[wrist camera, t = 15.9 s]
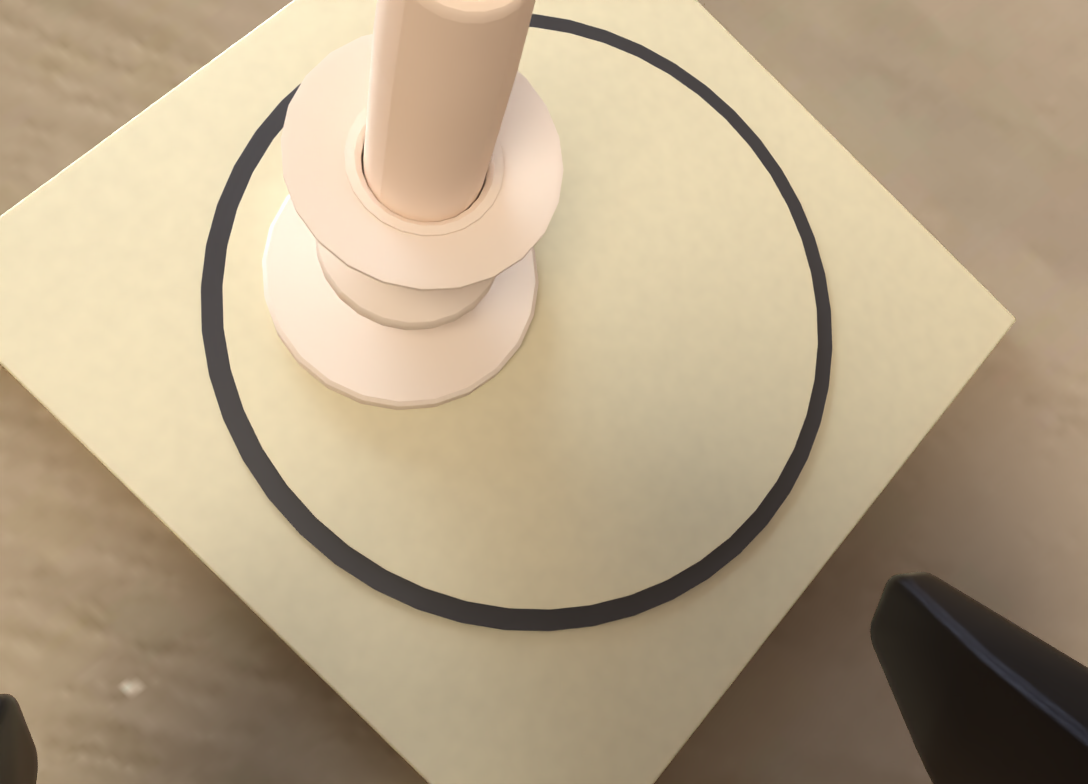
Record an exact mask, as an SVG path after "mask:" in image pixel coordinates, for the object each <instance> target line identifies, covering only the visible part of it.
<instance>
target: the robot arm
mask: <svg viewBox="0 0 1088 784" xmlns="http://www.w3.org/2000/svg"><path fill="white" fill-rule="evenodd" d="M870 633H871V640H872V644H873V647H874V650H875V652H876V654H877V657H878V659H879V662H880V664H881V666H882V669H883V671H884V673H885V676H886V678H887V680H888V683H889V685H890V688H891V690H892V692H893V695H894V697H895V699H896V702H897V704H898V706H899V709H900V711H901V714H902V716H903V718H904V721H905V723H906V725H907V728H908V730H909V732H910V735H911V737H912V740H913V742H914V744H915V747H916V749H917V751H918V753H919V755H920V758H921V760H922V762H923V764H924V766H925V769H926V771H927V773H928V774H929V776H930V778H931V780H932V782H933V784H1088V668H1087V667H1086V666H1084V665H1082V664H1081V663H1079V662H1077V661H1076V660H1074V659H1072V658H1071V657H1069V656H1067V655H1066V654H1064V653H1062V652H1061V651H1059V650H1057V649H1056V648H1054V647H1052V646H1051V645H1049V644H1047V643H1046V642H1044V641H1042V640H1041V639H1039V638H1037V637H1036V636H1034V635H1032V634H1031V633H1029V632H1027V631H1026V630H1024V629H1022V628H1021V627H1019V626H1017V625H1016V624H1014V623H1012V622H1011V621H1009V620H1007V619H1006V618H1004V617H1002V616H1001V615H999V614H997V613H996V612H994V611H992V610H991V609H989V608H987V607H986V606H984V605H982V604H981V603H979V602H977V601H976V600H974V599H972V598H971V597H969V596H967V595H966V594H964V593H962V592H961V591H959V590H957V589H956V588H954V587H952V586H951V585H949V584H947V583H946V582H944V581H942V580H941V579H939V578H937V577H936V576H934V575H932V574H930V573H927V572H913V573H906V574H898V575H895V576H892V577H891V578H890V579H889V580H888V582H887V583H886V586H885V588H884V591H883V593H882V596H881V599H880V601H879V604H878V606H877V609H876V612H875V614H874V617H873V619H872V622H871V629H870ZM37 771H38V760H37V752H36V748H35V745H34V742H33V739H32V737H31V734H30V732H29V729H28V727H27V724H26V722H25V719H24V716H23V714H22V711H21V709H20V706H19V704H18V702H17V700H16V699H15V698H14V697H13V696H12V695H10V694H0V784H36V780H37Z"/></svg>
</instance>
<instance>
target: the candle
mask: <svg viewBox="0 0 1088 784" xmlns="http://www.w3.org/2000/svg"><path fill="white" fill-rule="evenodd" d="M535 1H536V0H377V4H376V12H375V19H374V27H373V34H370V35H365V36H361V37H359V38H357V39H355V40H353V41H351V42H350V43H348V44H346V45H344V46H342V47H340V48H338V49H336V50H334V51H332V52H330V53H329V54H328V55H327V56H326V57H325V58H324V59H323V60H322V61H321V62H320V63H319V64H318V65H317V66H316V67H314V68H313V69H312V70H311V71H310V72H309V73H308V74H307V75H306V76H305V78H304V79H303V81H302V83H301V85H300V86H299V88H298V90H297V91H296V93H295V95H294V97H293V98H292V100H291V102H290V104H289V105H288V109H287V114H286V118H285V122H284V127H283V131H282V135H281V152H282V167H283V178H284V180H285V183H286V186H287V189H288V191H289V195H288V196H287V197H286V198H285V200H284V202H283V204H282V206H281V207H280V209H279V211H278V213H277V214H276V216H275V218H274V220H273V222H272V223H271V225H270V227H269V232H268V236H267V241H266V245H265V249H264V254H263V258H262V269H263V285H264V297H265V300H266V303H267V306H268V309H269V312H270V315H271V317H272V320H273V323H274V326H275V328H276V331H277V334H278V336H279V337H280V339H281V340H282V342H283V343H284V345H285V346H286V347H287V349H288V350H289V352H290V353H291V354H292V356H293V357H294V359H295V360H296V361H297V363H298V364H299V365H300V366H301V367H302V368H303V369H305V370H306V371H307V372H308V373H309V374H311V375H312V376H313V377H314V378H316V379H317V380H318V381H319V382H320V383H322V384H323V385H324V386H325V387H327V388H328V389H330V390H332V391H334V392H337V393H339V394H341V395H343V396H345V397H348V398H350V399H352V400H354V401H356V402H358V403H361V404H365V405H371V406H377V407H382V408H388V409H393V410H407V409H420V408H432V407H436V406H439V405H442V404H445V403H448V402H450V401H453V400H456V399H459V398H462V397H465V396H467V395H469V394H470V393H472V392H473V391H475V390H476V389H477V388H479V387H480V386H482V385H483V384H485V383H486V382H488V381H489V380H491V379H492V378H493V377H495V376H496V375H497V374H498V372H499V371H500V370H501V369H502V368H503V366H504V365H505V364H506V363H507V362H508V360H509V359H510V358H511V357H512V356H513V354H514V353H515V352H516V351H517V350H518V348H519V347H520V345H521V343H522V341H523V339H524V336H525V334H526V332H527V330H528V327H529V325H530V323H531V321H532V319H533V316H534V311H535V304H536V298H537V291H538V284H539V281H538V273H537V265H536V257H535V250H534V247H533V246H534V245H535V244H536V243H537V242H538V241H539V240H540V238H541V237H542V236H543V235H544V233H545V231H546V229H547V227H548V225H549V222H550V220H551V218H552V216H553V214H554V212H555V209H556V207H557V205H558V203H559V197H560V191H561V184H562V177H563V170H564V169H563V162H562V154H561V146H560V139H559V135H558V133H557V130H556V128H555V125H554V123H553V120H552V118H551V116H550V113H549V111H548V108H547V106H546V104H545V103H544V102H543V100H542V99H541V98H540V96H539V95H538V93H537V92H536V91H535V89H534V88H533V87H532V85H531V84H530V83H529V81H528V80H527V79H526V77H525V76H523V75H522V74H521V73H520V72H519V71H518V67H519V63H520V59H521V55H522V51H523V48H524V44H525V40H526V36H527V32H528V28H529V24H530V20H531V16H532V12H533V9H534V5H535Z"/></svg>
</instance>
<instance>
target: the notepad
mask: <svg viewBox="0 0 1088 784" xmlns="http://www.w3.org/2000/svg"><path fill="white" fill-rule="evenodd" d="M376 4H377V0H293V1H292V2H290V3H289V4H288V5H286V6H285V7H284V8H282V9H281V10H280V11H278V12H277V13H275V14H274V15H273V16H271V17H270V18H269V19H267V20H266V21H265V22H263V23H262V24H261V25H259V26H258V27H256V28H255V29H254V30H252V31H251V32H250V33H248V34H247V35H246V36H244V37H243V38H242V39H240V40H239V41H237V42H236V43H235V44H233V45H232V46H231V47H229V48H228V49H227V50H225V51H224V52H223V53H221V54H220V55H218V56H217V57H216V58H214V59H213V60H212V61H210V62H209V63H208V64H206V65H205V66H204V67H202V68H201V69H199V70H198V71H197V72H195V73H194V74H193V75H191V76H190V77H189V78H187V79H186V80H185V81H183V82H182V83H180V84H179V85H178V86H176V87H175V88H174V89H172V90H171V91H170V92H168V93H167V94H166V95H164V96H163V97H161V98H160V99H159V100H157V101H156V102H155V103H153V104H152V105H151V106H149V107H148V108H147V109H145V110H144V111H142V112H141V113H140V114H138V115H137V116H136V117H134V118H133V119H132V120H130V121H129V122H128V123H126V124H125V125H123V126H122V127H121V128H119V129H118V130H117V131H115V132H114V133H113V134H111V135H110V136H109V137H107V138H106V139H104V140H103V141H102V142H100V143H99V144H98V145H96V146H95V147H94V148H92V149H91V150H90V151H88V152H87V153H85V154H84V155H83V156H81V157H80V158H79V159H77V160H76V161H75V162H73V163H72V164H71V165H69V166H68V167H66V168H65V169H64V170H62V171H61V172H60V173H58V174H57V175H56V176H54V177H53V178H52V179H50V180H49V181H47V182H46V183H45V184H43V185H42V186H41V187H39V188H38V189H37V190H35V191H34V192H33V193H31V194H30V195H28V196H27V197H26V198H24V199H23V200H22V201H20V202H19V203H18V204H16V205H15V206H14V207H12V208H11V209H9V210H8V211H7V212H5V213H4V214H3V215H1V216H0V364H1V365H2V366H3V367H4V368H5V369H6V370H7V371H8V372H9V373H10V374H11V375H12V376H13V377H14V378H15V379H16V380H17V381H18V382H20V383H21V384H22V385H23V386H24V387H25V388H26V389H27V390H28V391H29V392H30V393H31V394H32V395H33V396H34V397H35V398H36V399H37V400H38V401H39V402H40V403H41V404H42V405H43V406H44V407H45V408H46V409H47V410H48V411H49V412H50V413H51V414H52V415H53V416H54V417H55V418H56V419H57V420H58V421H59V422H60V423H61V424H62V425H63V426H64V427H65V428H66V429H67V430H69V431H70V432H71V433H72V434H73V435H74V436H75V437H76V438H77V439H78V440H79V441H80V442H81V443H82V444H83V445H84V446H85V447H86V448H87V449H88V450H89V451H90V452H91V453H92V454H93V455H94V456H95V457H96V458H97V459H98V460H99V461H100V462H101V463H102V464H103V465H104V466H105V467H106V468H107V469H108V470H109V471H110V472H111V473H112V474H113V475H114V476H115V477H116V478H118V479H119V480H120V481H121V482H122V483H123V484H124V485H125V486H126V487H127V488H128V489H129V490H130V491H131V492H132V493H133V494H134V495H135V496H136V497H137V498H138V499H139V500H140V501H141V502H142V503H143V504H144V505H145V506H146V507H147V508H148V509H149V510H150V511H151V512H152V513H153V514H154V515H155V516H156V517H157V518H158V519H159V520H160V521H161V522H162V523H163V524H164V525H165V526H166V527H168V528H169V529H170V530H171V531H172V532H173V533H174V534H175V535H176V536H177V537H178V538H179V539H180V540H181V541H182V542H183V543H184V544H185V545H186V546H187V547H188V548H189V549H190V550H191V551H192V552H193V553H194V554H195V555H196V556H197V557H198V558H199V559H200V560H201V561H202V562H203V563H204V564H205V565H206V566H207V567H208V568H209V569H210V570H211V571H212V572H213V573H214V574H215V575H217V576H218V577H219V578H220V579H221V580H222V581H223V582H224V583H225V584H226V585H227V586H228V587H229V588H230V589H231V590H232V591H233V592H234V593H235V594H236V595H237V596H238V597H239V598H240V599H241V600H242V601H243V602H244V603H245V604H246V605H247V606H248V607H249V608H250V609H251V610H252V611H253V612H254V613H255V614H256V615H257V616H258V617H259V618H260V619H261V620H262V621H263V622H264V623H265V624H267V625H268V626H269V627H270V628H271V629H272V630H273V631H274V632H275V633H276V634H277V635H278V636H279V637H280V638H281V639H282V640H283V641H284V642H285V643H286V644H287V645H288V646H289V647H290V648H291V649H292V650H293V651H294V652H295V653H296V654H297V655H298V656H299V657H300V658H301V659H302V660H303V661H304V662H305V663H306V664H307V665H308V666H309V667H310V668H311V669H312V670H313V671H314V672H316V673H317V674H318V675H319V676H320V677H321V678H322V679H323V680H324V681H325V682H326V683H327V684H328V685H329V686H330V687H331V688H332V689H333V690H334V691H335V692H336V693H337V694H338V695H339V696H340V697H341V698H342V699H343V700H344V701H345V702H346V703H347V704H348V705H349V706H350V707H351V708H352V709H353V710H354V711H355V712H356V713H357V714H358V715H359V716H360V717H361V718H362V719H363V720H365V721H366V722H367V723H368V724H369V725H370V726H371V727H372V728H373V729H374V730H375V731H376V732H377V733H378V734H379V735H380V736H381V737H382V738H383V739H384V740H385V741H386V742H387V743H388V744H389V745H390V746H391V747H392V748H393V749H394V750H395V751H396V752H397V753H398V754H399V755H400V756H401V757H402V758H403V759H404V760H405V761H406V762H407V763H408V764H409V765H410V766H411V767H412V768H413V769H415V770H416V771H417V772H418V773H419V774H420V775H421V776H422V777H423V778H424V779H425V780H426V781H427V782H428V783H429V784H654V782H655V781H656V780H657V779H658V777H659V776H660V775H661V773H662V772H663V771H664V770H665V768H666V767H667V766H668V765H669V763H670V762H671V761H672V759H673V758H674V757H675V756H676V754H677V753H678V752H679V750H680V749H681V748H682V747H683V745H684V744H685V743H686V741H687V740H688V739H689V738H690V736H691V735H692V734H693V733H694V731H695V730H696V729H697V727H698V726H699V725H700V724H701V722H702V721H703V720H704V718H705V717H706V716H707V715H708V713H709V712H710V711H711V710H712V708H713V707H714V706H715V704H716V703H717V702H718V701H719V699H720V698H721V697H722V695H723V694H724V693H725V692H726V690H727V689H728V688H729V687H730V685H731V684H732V683H733V681H734V680H735V679H736V678H737V676H738V675H739V674H740V672H741V671H742V670H743V669H744V667H745V666H746V665H747V663H748V662H749V661H750V660H751V658H752V657H753V656H754V655H755V653H756V652H757V651H758V649H759V648H760V647H761V646H762V644H763V643H764V642H765V640H766V639H767V638H768V637H769V635H770V634H771V633H772V632H773V630H774V629H775V628H776V626H777V625H778V624H779V623H780V621H781V620H782V619H783V617H784V616H785V615H786V614H787V612H788V611H789V610H790V609H791V607H792V606H793V605H794V603H795V602H796V601H797V600H798V598H799V597H800V596H801V594H802V593H803V592H804V591H805V589H806V588H807V587H808V585H809V584H810V583H811V582H812V580H813V579H814V578H815V577H816V575H817V574H818V573H819V571H820V570H821V569H822V568H823V566H824V565H825V564H826V562H827V561H828V560H829V559H830V557H831V556H832V555H833V554H834V552H835V551H836V550H837V548H838V547H839V546H840V545H841V543H842V542H843V541H844V539H845V538H846V537H847V536H848V534H849V533H850V532H851V531H852V529H853V528H854V527H855V525H856V524H857V523H858V522H859V520H860V519H861V518H862V516H863V515H864V514H865V513H866V511H867V510H868V509H869V508H870V506H871V505H872V504H873V502H874V501H875V500H876V499H877V497H878V496H879V495H880V493H881V492H882V491H883V490H884V488H885V487H886V486H887V484H888V483H889V482H890V481H891V479H892V478H893V477H894V476H895V474H896V473H897V472H898V470H899V469H900V468H901V467H902V465H903V464H904V463H905V461H906V460H907V459H908V458H909V456H910V455H911V454H912V453H913V451H914V450H915V449H916V447H917V446H918V445H919V444H920V442H921V441H922V440H923V438H924V437H925V436H926V435H927V433H928V432H929V431H930V430H931V428H932V427H933V426H934V424H935V423H936V422H937V421H938V419H939V418H940V417H941V415H942V414H943V413H944V412H945V410H946V409H947V408H948V406H949V405H950V404H951V403H952V401H953V400H954V399H955V398H956V396H957V395H958V394H959V392H960V391H961V390H962V389H963V387H964V386H965V385H966V383H967V382H968V381H969V380H970V378H971V377H972V376H973V375H974V373H975V372H976V371H977V369H978V368H979V367H980V366H981V364H982V363H983V362H984V360H985V359H986V358H987V357H988V355H989V354H990V353H991V352H992V350H993V349H994V348H995V346H996V345H997V344H998V343H999V341H1000V340H1001V339H1002V337H1003V336H1004V335H1005V334H1006V332H1007V331H1008V330H1009V328H1010V327H1011V326H1012V325H1013V323H1014V322H1015V321H1016V319H1015V317H1014V316H1013V315H1012V314H1011V313H1010V312H1009V311H1008V310H1007V309H1006V308H1005V307H1004V306H1003V305H1002V304H1001V303H1000V302H999V301H998V300H997V299H996V298H995V297H994V296H993V295H992V294H991V293H990V292H989V291H988V290H987V289H986V288H985V287H984V286H983V285H982V284H981V283H980V282H979V281H978V280H977V279H976V278H975V277H974V276H973V275H972V274H971V273H970V272H969V271H968V270H967V269H966V268H965V267H964V266H963V265H962V264H961V263H960V262H959V261H958V260H957V259H956V258H955V257H954V256H953V255H952V254H951V253H950V252H949V251H948V250H947V249H946V248H945V247H944V246H943V245H942V244H941V243H940V242H939V241H938V240H937V239H936V238H935V237H934V236H933V235H932V234H931V233H930V232H929V231H928V230H926V229H925V228H924V227H923V226H922V225H921V224H920V223H919V222H918V221H917V220H916V219H915V218H914V217H913V216H912V215H911V214H910V213H909V212H908V211H907V210H906V209H905V208H904V207H903V206H902V205H901V204H900V203H899V202H898V201H897V200H896V199H895V198H894V197H893V196H892V195H891V194H890V193H889V192H888V191H887V190H886V189H885V188H884V187H883V186H882V185H881V184H880V183H879V182H878V181H877V180H876V179H875V178H874V177H873V176H872V175H871V174H870V173H869V172H868V171H867V170H866V169H865V168H864V167H863V166H862V165H861V164H860V163H859V162H858V161H857V160H856V159H855V158H854V157H853V156H852V155H851V154H850V153H849V152H848V151H847V150H846V149H845V148H844V147H843V146H842V145H841V144H840V143H839V142H838V141H837V140H836V139H835V138H834V137H833V136H832V135H831V134H830V133H829V132H828V131H827V130H826V129H825V128H824V127H823V126H822V125H821V124H820V123H819V122H818V121H817V120H816V119H815V118H814V117H813V116H812V115H811V114H810V113H809V112H808V111H807V110H806V109H805V108H804V107H803V106H802V105H801V104H800V103H799V102H798V101H797V100H796V99H795V98H794V97H793V96H792V95H791V94H790V93H789V92H788V91H787V90H786V89H785V88H784V87H783V86H782V85H781V84H780V83H779V82H778V81H777V80H776V79H775V78H774V77H773V76H772V75H771V74H770V73H769V72H768V71H767V70H766V69H765V68H764V67H763V66H762V65H761V64H760V63H759V62H758V61H757V60H756V59H755V58H754V57H753V56H752V55H751V54H750V53H749V52H748V51H747V50H746V49H745V48H744V47H743V46H742V45H741V44H740V43H739V42H738V41H737V40H736V39H735V38H734V37H733V36H732V35H731V34H730V33H729V32H728V31H727V30H726V29H725V28H724V27H723V26H722V25H721V24H720V23H719V22H718V21H717V20H716V19H715V18H714V17H713V16H712V15H711V14H710V13H709V12H708V11H707V10H706V9H705V8H704V7H703V6H702V5H701V4H700V3H699V2H698V1H697V0H536V1H535V5H534V9H533V12H532V16H531V20H530V24H529V28H528V32H527V36H526V40H525V44H524V48H523V51H522V55H521V59H520V63H519V67H518V71H519V72H520V73H521V74H522V75H523V76H525V77H526V79H527V80H528V81H529V83H530V84H531V85H532V87H533V88H534V89H535V91H536V92H537V93H538V95H539V96H540V98H541V99H542V100H543V102H544V103H545V104H546V106H547V108H548V111H549V113H550V116H551V118H552V120H553V123H554V125H555V128H556V130H557V133H558V135H559V139H560V146H561V154H562V162H563V169H564V170H563V177H562V184H561V191H560V197H559V203H558V205H557V207H556V209H555V212H554V214H553V216H552V218H551V220H550V222H549V225H548V227H547V229H546V231H545V233H544V235H543V236H542V237H541V238H540V240H539V241H538V242H537V243H536V244H535V245H534V246H533V247H534V250H535V257H536V265H537V273H538V281H539V284H538V291H537V298H536V304H535V311H534V316H533V319H532V321H531V323H530V325H529V327H528V330H527V332H526V334H525V336H524V339H523V341H522V343H521V345H520V347H519V348H518V350H517V351H516V352H515V353H514V354H513V356H512V357H511V358H510V359H509V360H508V362H507V363H506V364H505V365H504V366H503V368H502V369H501V370H500V371H499V372H498V374H497V375H496V376H495V377H493V378H492V379H491V380H489V381H488V382H486V383H485V384H483V385H482V386H480V387H479V388H477V389H476V390H475V391H473V392H472V393H470V394H469V395H467V396H465V397H462V398H459V399H456V400H453V401H450V402H448V403H445V404H442V405H439V406H436V407H432V408H420V409H407V410H393V409H388V408H382V407H377V406H371V405H365V404H361V403H358V402H356V401H354V400H352V399H350V398H348V397H345V396H343V395H341V394H339V393H337V392H334V391H332V390H330V389H328V388H327V387H325V386H324V385H323V384H322V383H320V382H319V381H318V380H317V379H316V378H314V377H313V376H312V375H311V374H309V373H308V372H307V371H306V370H305V369H303V368H302V367H301V366H300V365H299V364H298V363H297V361H296V360H295V359H294V357H293V356H292V354H291V353H290V352H289V350H288V349H287V347H286V346H285V345H284V343H283V342H282V340H281V339H280V337H279V336H278V334H277V331H276V328H275V326H274V323H273V320H272V317H271V315H270V312H269V309H268V306H267V303H266V300H265V297H264V285H263V269H262V258H263V254H264V249H265V245H266V241H267V236H268V232H269V227H270V225H271V223H272V222H273V220H274V218H275V216H276V214H277V213H278V211H279V209H280V207H281V206H282V204H283V202H284V200H285V198H286V197H287V196H288V195H289V191H288V189H287V186H286V183H285V180H284V178H283V167H282V152H281V135H282V131H283V127H284V122H285V118H286V114H287V109H288V105H289V104H290V102H291V100H292V98H293V97H294V95H295V93H296V91H297V90H298V88H299V86H300V85H301V83H302V81H303V79H304V78H305V76H306V75H307V74H308V73H309V72H310V71H311V70H312V69H313V68H314V67H316V66H317V65H318V64H319V63H320V62H321V61H322V60H323V59H324V58H325V57H326V56H327V55H328V54H329V53H330V52H332V51H334V50H336V49H338V48H340V47H342V46H344V45H346V44H348V43H350V42H351V41H353V40H355V39H357V38H359V37H361V36H365V35H370V34H373V27H374V19H375V12H376Z"/></svg>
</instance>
